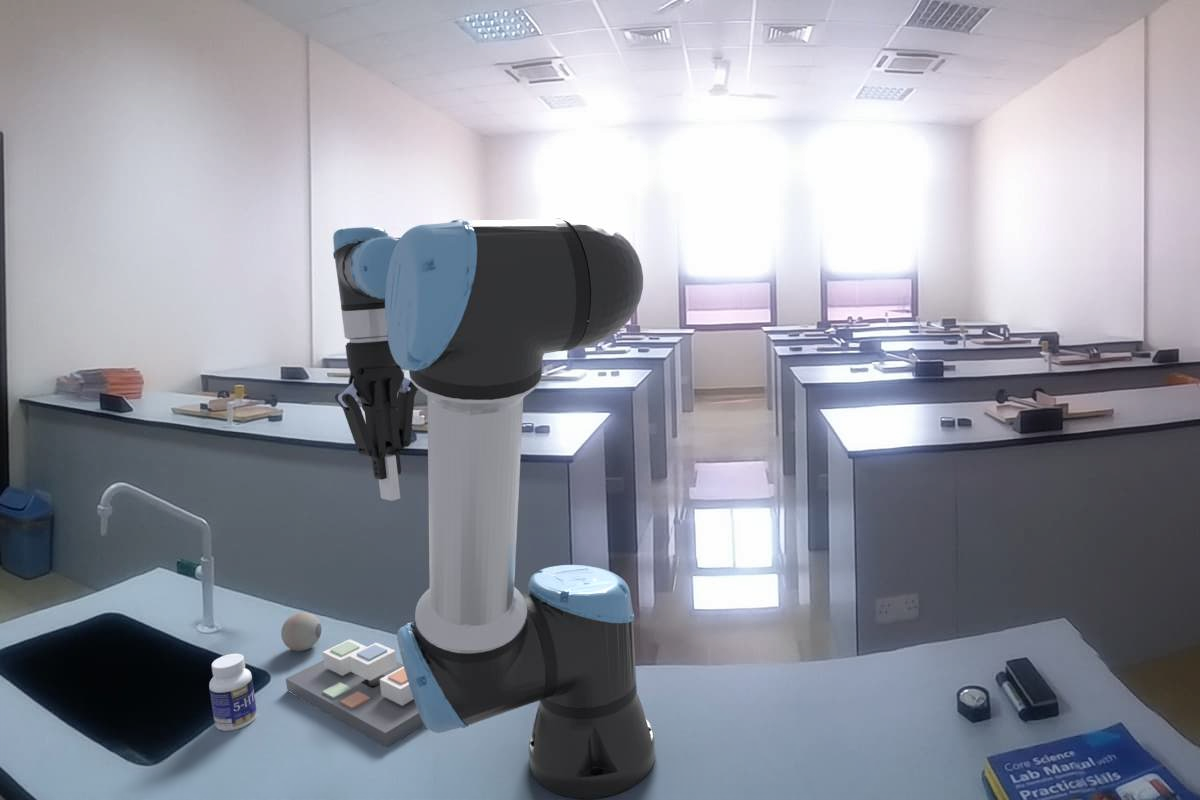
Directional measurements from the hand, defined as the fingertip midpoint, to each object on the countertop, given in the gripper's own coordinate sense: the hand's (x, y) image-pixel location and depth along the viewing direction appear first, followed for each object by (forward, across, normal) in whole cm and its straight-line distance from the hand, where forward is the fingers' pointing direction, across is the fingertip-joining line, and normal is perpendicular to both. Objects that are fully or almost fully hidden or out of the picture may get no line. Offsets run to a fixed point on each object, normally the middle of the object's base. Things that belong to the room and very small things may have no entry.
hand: (390, 498), depth 113 cm
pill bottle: (+27, +23, -8) cm, 36 cm away
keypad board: (+26, +9, +3) cm, 28 cm away
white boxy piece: (+25, +8, +3) cm, 26 cm away
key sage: (+26, +8, -4) cm, 28 cm away
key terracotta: (+26, +8, +10) cm, 29 cm away
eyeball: (+27, +6, -19) cm, 33 cm away
